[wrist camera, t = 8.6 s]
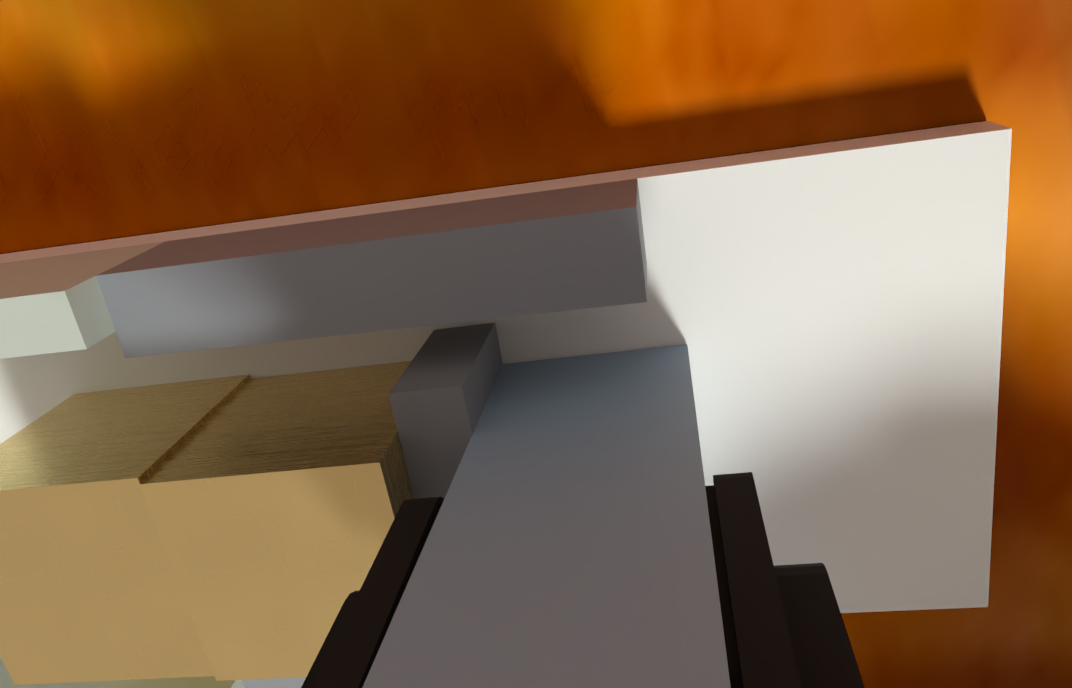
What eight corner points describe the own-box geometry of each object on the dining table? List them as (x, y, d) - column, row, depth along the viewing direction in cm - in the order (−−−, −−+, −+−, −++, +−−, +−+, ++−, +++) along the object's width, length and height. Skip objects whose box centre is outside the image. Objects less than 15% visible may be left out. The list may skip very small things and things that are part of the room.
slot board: (-290, 293, 19) (-517, 363, 15) (987, 120, 14) (1108, 161, 10) (-109, 628, 22) (-259, 752, 18) (970, 575, 18) (1055, 725, 14)
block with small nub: (433, 329, 16) (-78, 1044, 5) (682, 300, 15) (784, 1086, 4) (484, 559, 17) (197, 1484, 6) (708, 544, 17) (832, 1573, 6)
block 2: (250, 378, 17) (139, 484, 13) (440, 357, 16) (379, 462, 12) (303, 543, 18) (216, 680, 14) (479, 530, 17) (435, 671, 14)
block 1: (74, 393, 17) (-79, 498, 14) (248, 374, 17) (137, 478, 13) (137, 552, 19) (15, 684, 15) (301, 540, 18) (215, 675, 14)
